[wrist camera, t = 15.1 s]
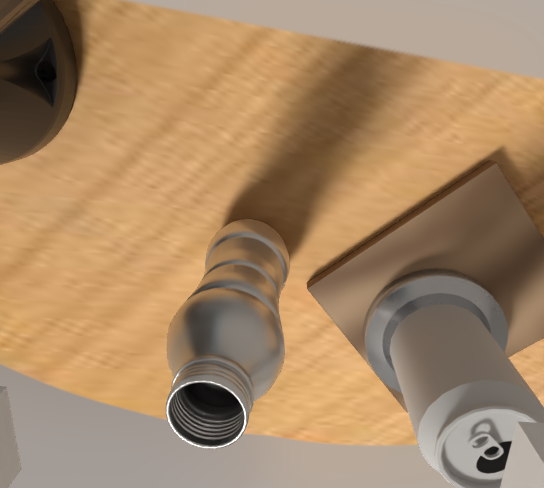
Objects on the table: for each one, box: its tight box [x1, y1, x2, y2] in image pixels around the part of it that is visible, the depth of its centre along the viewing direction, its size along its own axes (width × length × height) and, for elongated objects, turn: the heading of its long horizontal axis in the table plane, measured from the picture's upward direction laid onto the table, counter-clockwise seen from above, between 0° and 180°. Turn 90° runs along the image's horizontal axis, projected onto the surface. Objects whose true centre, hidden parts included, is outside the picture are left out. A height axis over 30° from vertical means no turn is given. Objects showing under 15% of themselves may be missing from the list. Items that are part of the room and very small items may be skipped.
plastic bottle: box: [166, 219, 290, 449], centre depth 30 cm, size 6×7×20 cm
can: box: [390, 304, 544, 488], centre depth 32 cm, size 8×8×12 cm
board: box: [307, 160, 544, 413], centre depth 39 cm, size 15×17×1 cm
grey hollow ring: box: [363, 268, 508, 393], centre depth 38 cm, size 11×11×2 cm
